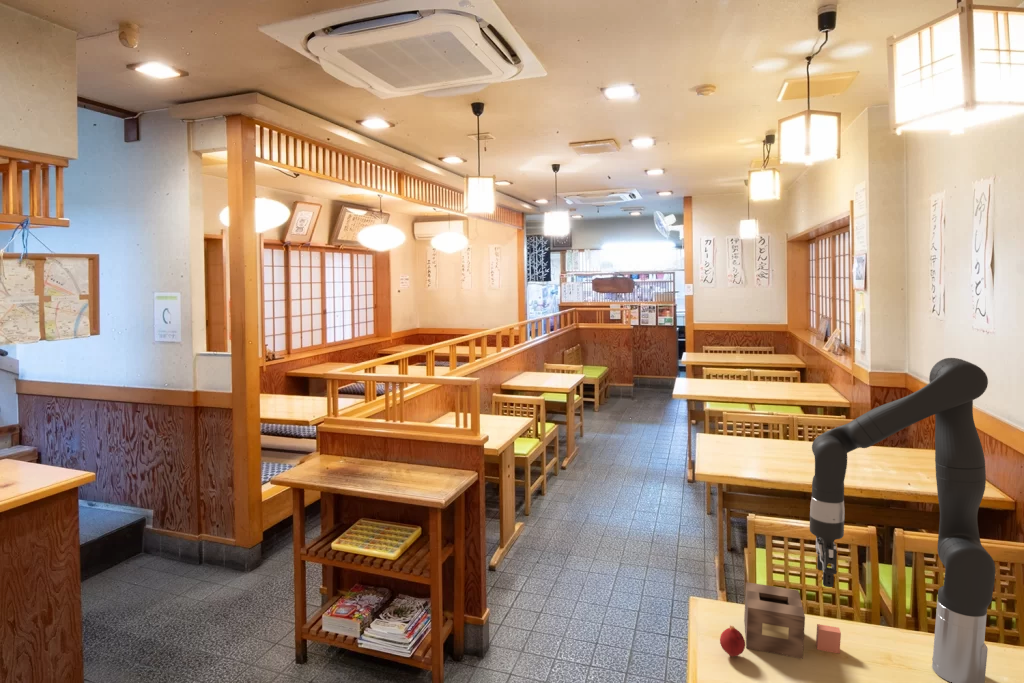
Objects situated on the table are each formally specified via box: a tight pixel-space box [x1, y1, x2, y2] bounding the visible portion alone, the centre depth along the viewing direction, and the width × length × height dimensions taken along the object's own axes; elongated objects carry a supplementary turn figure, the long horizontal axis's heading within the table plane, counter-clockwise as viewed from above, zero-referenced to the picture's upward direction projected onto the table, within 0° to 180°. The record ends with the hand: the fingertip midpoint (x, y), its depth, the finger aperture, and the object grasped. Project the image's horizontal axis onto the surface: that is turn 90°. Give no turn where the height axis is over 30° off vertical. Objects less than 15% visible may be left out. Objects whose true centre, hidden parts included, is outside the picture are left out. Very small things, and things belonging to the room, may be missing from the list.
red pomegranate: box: [719, 625, 746, 658], centre depth 146 cm, size 6×6×8 cm
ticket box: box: [743, 581, 806, 660], centre depth 153 cm, size 13×13×11 cm
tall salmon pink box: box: [815, 623, 842, 654], centre depth 149 cm, size 5×2×6 cm, turn 71°
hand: (824, 577), depth 148 cm, fingers open, 8 cm apart
